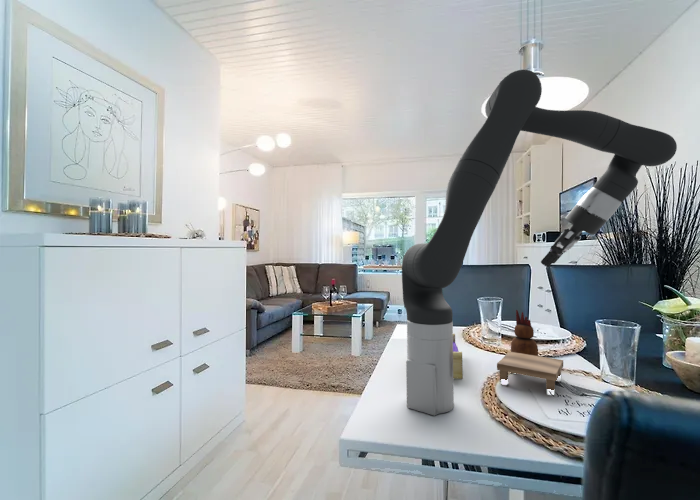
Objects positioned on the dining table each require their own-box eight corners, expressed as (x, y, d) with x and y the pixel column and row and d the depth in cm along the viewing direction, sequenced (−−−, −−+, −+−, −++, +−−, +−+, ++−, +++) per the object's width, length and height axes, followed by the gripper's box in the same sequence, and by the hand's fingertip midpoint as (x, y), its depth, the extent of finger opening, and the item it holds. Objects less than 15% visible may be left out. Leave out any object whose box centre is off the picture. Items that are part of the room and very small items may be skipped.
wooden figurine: (506, 362, 97) (506, 309, 97) (523, 360, 98) (522, 308, 99) (525, 370, 90) (524, 313, 90) (542, 367, 92) (542, 312, 92)
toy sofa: (463, 380, 84) (463, 339, 84) (427, 378, 86) (426, 337, 86) (455, 355, 104) (455, 322, 104) (426, 354, 106) (426, 321, 106)
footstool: (556, 397, 73) (555, 374, 73) (497, 384, 81) (496, 363, 81) (563, 380, 83) (563, 360, 83) (510, 370, 90) (509, 351, 90)
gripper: (580, 203, 90) (539, 252, 97) (574, 201, 79) (528, 256, 86) (609, 219, 87) (564, 269, 93) (607, 219, 75) (556, 275, 82)
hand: (547, 263), depth 90 cm, fingers open, 8 cm apart
